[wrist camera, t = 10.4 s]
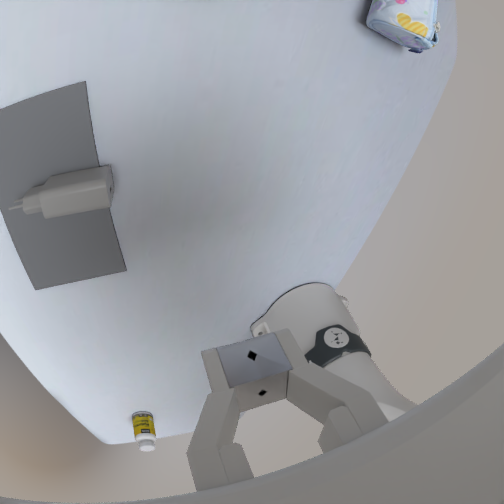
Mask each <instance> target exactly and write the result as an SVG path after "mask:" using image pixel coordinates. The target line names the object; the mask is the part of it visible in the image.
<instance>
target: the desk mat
mask: <svg viewBox="0 0 504 504" xmlns="http://www.w3.org/2000/svg"><path fill="white" fill-rule="evenodd" d="M96 167H100V166H99V162H98V157H97V152H96V146H95V141H94V135H93V129H92V123H91V117H90V110H89V104H88V96H87V88H86V81H84V82H80V83H77V84H73V85H70V86H66V87H63V88H59V89H56V90H53V91H50V92H47V93H44V94H41V95H38V96H35V97H32V98H29V99H26V100H24V101H21V102H18V103H16V104H13V105H10V106H8V107H5V108H3V109H1V110H0V210H1V212H2V215H3V218H4V221H5V223H6V226H7V228H8V231H9V233H10V236H11V238H12V241H13V243H14V246H15V248H16V250H17V253H18V255H19V257H20V259H21V262H22V264H23V266H24V268H25V270H26V272H27V274H28V276H29V279H30V281H31V283H32V285H33V287H34V289H35V290H39V289H44V288H48V287H53V286H58V285H62V284H67V283H72V282H76V281H81V280H86V279H90V278H95V277H100V276H105V275H109V274H114V273H119V272H124V271H126V267H125V263H124V260H123V257H122V253H121V250H120V247H119V243H118V240H117V236H116V233H115V229H114V225H113V221H112V218H111V214H110V210H109V208H103V209H97V210H92V211H86V212H80V213H75V214H69V215H64V216H59V217H54V218H49V219H45V217H44V215H43V211H42V212H38V213H33V214H28V215H27V214H26V213H25V212H24V211H23V207H20V208H15V209H11V210H9V207H13V206H16V205H21V204H23V201H19V202H15V203H14V200H18V199H21V198H23V197H24V195H25V194H26V193H27V191H28V190H29V189H30V188H33V187H37V186H41V185H44V184H45V183H46V181H47V180H48V178H49V177H50V176H55V175H60V174H65V173H69V172H74V171H80V170H85V169H90V168H96Z"/></svg>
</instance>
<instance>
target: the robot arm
mask: <svg viewBox="0 0 504 504" xmlns="http://www.w3.org/2000/svg"><path fill="white" fill-rule="evenodd" d="M347 307H348V301H347V299H346V298H345V297H343V296H339V295H338V294H336V292H335V291H334V289H333V288H331V287H330V286H328V285H326V284H321V283H313V284H307V285H303V286H300V287H298V288H295V289H293V290H291V291H290V292H288V293H286V294H285V295H283V296H282V297H281V298H279V299H278V300H277V301H276V302H275V303H274V304H273V305H272V306H271V308H270V309H269V310H268V312H267V313H266V314H265V315H264V316H263V317H262V318H260V319H259V320H258V321H256V322H255V323H254V324H253V325H252V326H251V331H252V334H253V337H254V338H251V339H247V340H245V341H242V342H238V343H234V344H230V345H226V346H221V347H217V348H213V349H209V350H204V351H201V354H202V358H203V362H204V365H205V369H206V372H207V376H208V379H209V383H210V386H211V389H212V393H210V394H208V396H207V399H206V402H205V404H204V407H203V410H202V412H201V415H200V418H199V421H198V423H197V426H196V429H195V431H194V434H193V437H192V440H191V442H190V445H189V447H188V450H187V457H188V461H189V465H190V469H191V472H192V476H193V480H194V483H195V487H196V490H197V492H194V493H188V494H182V495H176V496H170V497H164V498H156V499H148V500H138V501H127V502H111V503H55V502H54V503H53V502H40V501H29V500H19V499H13V498H6V497H0V504H504V343H503V344H502V345H501V346H500V347H499V348H497V349H496V350H495V351H494V352H493V353H491V354H490V355H489V356H488V357H486V358H485V359H484V360H483V361H481V362H480V363H479V364H478V365H476V366H475V367H474V368H472V369H471V370H470V371H468V372H467V373H466V374H464V375H463V376H462V377H460V378H459V379H457V380H456V381H455V382H453V383H452V384H451V385H449V386H447V387H446V388H444V389H443V390H441V391H440V392H438V393H437V394H435V395H434V396H432V397H431V398H429V399H428V400H426V401H424V402H423V403H421V404H420V405H417V404H415V403H413V402H412V401H410V400H408V399H407V398H405V397H404V396H403V395H401V394H400V393H399V392H398V391H397V390H396V389H395V388H394V387H393V386H392V385H391V384H390V382H389V381H388V380H387V379H386V377H385V376H384V375H383V373H382V372H381V371H380V369H379V368H378V367H377V366H376V364H375V363H374V361H373V360H372V359H371V353H370V351H369V350H368V347H367V345H366V344H365V343H364V341H362V339H361V338H360V329H359V327H358V325H357V324H356V322H355V320H354V319H353V317H352V316H351V314H350V312H349V310H348V309H347ZM285 398H287V400H288V401H290V402H291V403H293V404H294V405H295V406H297V407H298V408H300V409H301V410H302V411H304V412H306V413H307V414H309V415H310V416H311V417H313V418H314V419H316V420H317V421H319V422H320V423H322V424H323V425H324V427H323V430H322V432H321V435H320V437H319V439H318V443H319V445H320V447H321V449H322V451H323V454H321V455H319V456H316V457H314V458H311V459H308V460H306V461H303V462H301V463H298V464H295V465H292V466H290V467H287V468H284V469H281V470H278V471H275V472H272V473H269V474H265V475H262V476H259V477H255V478H254V476H253V473H252V471H251V468H250V466H249V463H248V461H247V458H246V456H245V453H244V450H243V448H242V445H240V444H238V443H233V439H234V435H235V432H236V428H237V424H238V420H239V416H240V412H243V411H246V410H250V409H253V408H256V407H259V406H262V405H265V404H269V403H272V402H276V401H279V400H282V399H285Z"/></svg>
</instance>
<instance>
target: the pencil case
mask: <svg viewBox="0 0 504 504" xmlns="http://www.w3.org/2000/svg"><path fill="white" fill-rule="evenodd" d="M437 5H438V0H372V3H371V7H370V10H369V13H368V16H367V20H366V24H367V26H368V27H369V28H371V29H372V30H374V31H376V32H378V33H380V34H382V35H383V36H385V37H387V38H389V39H390V40H392V41H394V42H396V43H398V44H400V45H402V46H405V47H408V48H412V49H410V50H408V51H411V52H415V53H421V52H422V51H423V50H427V49H430V48H432V47H434V46H435V45H436V44H437V43H438V34H437V32H439V31H440V23H439V22H437V23H436V16H437Z"/></svg>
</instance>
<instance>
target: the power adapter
mask: <svg viewBox="0 0 504 504" xmlns="http://www.w3.org/2000/svg"><path fill="white" fill-rule="evenodd" d="M113 193H114V186H113V178H112V171H111V166H110V165H108V166H102V167H96V168H90V169H85V170H80V171H74V172H69V173H65V174H60V175H55V176H50V177H49V178H48V180H47V181H46V183H45V184H44V185H41V186H37V187H33V188H30V189H29V190H28V191H27V193H26V194H25V195H24V197H23V198H21V199H18V200H14V203H15V202H19V201H23V204H21V205H16V206H13V207H9V210H11V209H15V208H20V207H23V211H24V212H25V213H26V214H27V215H28V214H33V213H38V212H42V211H43V215H44V217H45V219H49V218H54V217H59V216H64V215H69V214H75V213H80V212H86V211H92V210H97V209H103V208H109V207H111V203H112V198H113Z"/></svg>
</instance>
